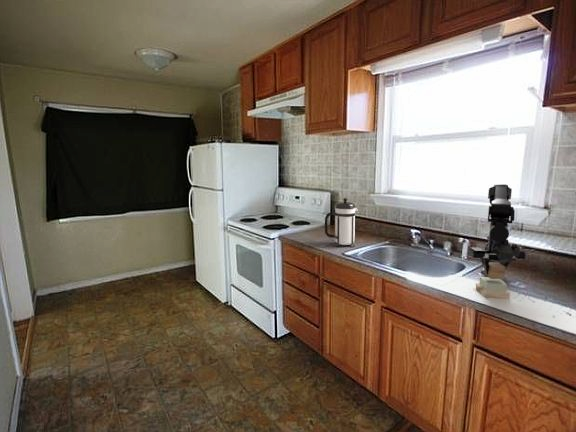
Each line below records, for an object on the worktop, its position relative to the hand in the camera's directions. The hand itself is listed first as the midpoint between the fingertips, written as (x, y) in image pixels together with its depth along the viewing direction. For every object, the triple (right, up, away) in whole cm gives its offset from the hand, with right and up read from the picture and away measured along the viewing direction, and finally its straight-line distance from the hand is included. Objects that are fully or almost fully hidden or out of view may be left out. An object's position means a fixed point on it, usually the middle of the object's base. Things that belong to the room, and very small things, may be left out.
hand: (494, 274), depth 125 cm
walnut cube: (0, -1, 0) cm, 1 cm away
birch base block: (0, -9, +2) cm, 9 cm away
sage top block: (0, -6, +1) cm, 6 cm away
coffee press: (-47, +4, +76) cm, 89 cm away
